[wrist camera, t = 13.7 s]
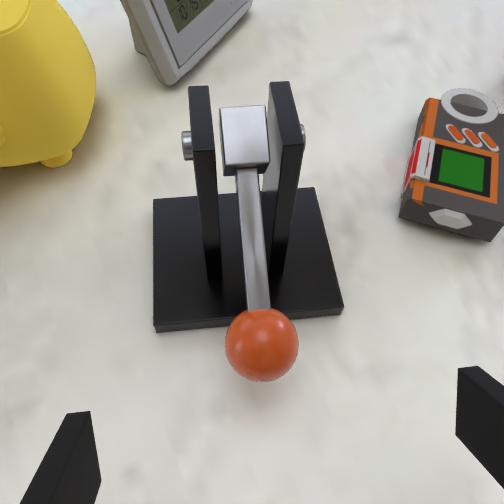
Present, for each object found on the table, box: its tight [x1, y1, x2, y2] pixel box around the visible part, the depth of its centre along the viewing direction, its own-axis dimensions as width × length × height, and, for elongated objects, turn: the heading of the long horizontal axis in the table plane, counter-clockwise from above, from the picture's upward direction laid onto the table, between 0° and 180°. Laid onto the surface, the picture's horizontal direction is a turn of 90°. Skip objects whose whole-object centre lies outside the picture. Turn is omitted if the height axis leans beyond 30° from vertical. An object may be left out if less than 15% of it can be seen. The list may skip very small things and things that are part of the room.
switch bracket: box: [153, 81, 344, 333], centre depth 26 cm, size 10×12×13 cm
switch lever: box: [219, 105, 299, 382], centre depth 22 cm, size 13×4×4 cm, turn 7°
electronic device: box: [399, 88, 504, 242], centre depth 36 cm, size 7×3×15 cm
